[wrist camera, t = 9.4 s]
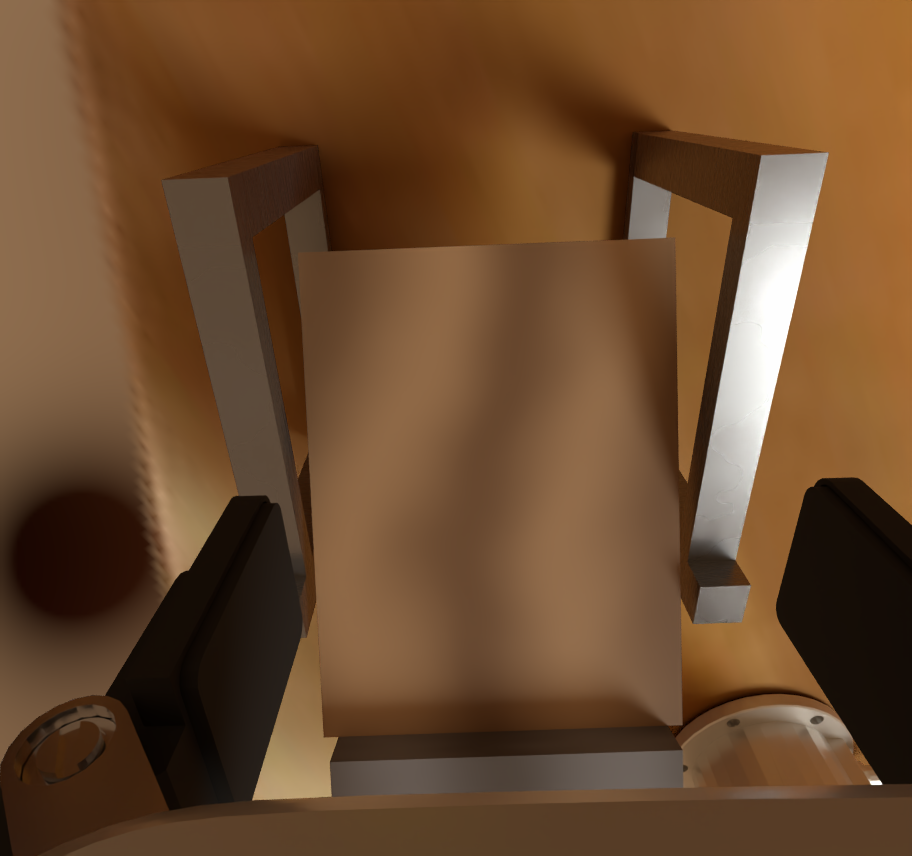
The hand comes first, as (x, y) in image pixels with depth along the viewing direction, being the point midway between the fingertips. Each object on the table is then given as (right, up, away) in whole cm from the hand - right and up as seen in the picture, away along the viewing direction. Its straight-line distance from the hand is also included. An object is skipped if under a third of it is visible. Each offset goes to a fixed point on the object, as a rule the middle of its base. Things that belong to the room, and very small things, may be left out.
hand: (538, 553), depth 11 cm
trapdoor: (0, -1, +11) cm, 11 cm away
